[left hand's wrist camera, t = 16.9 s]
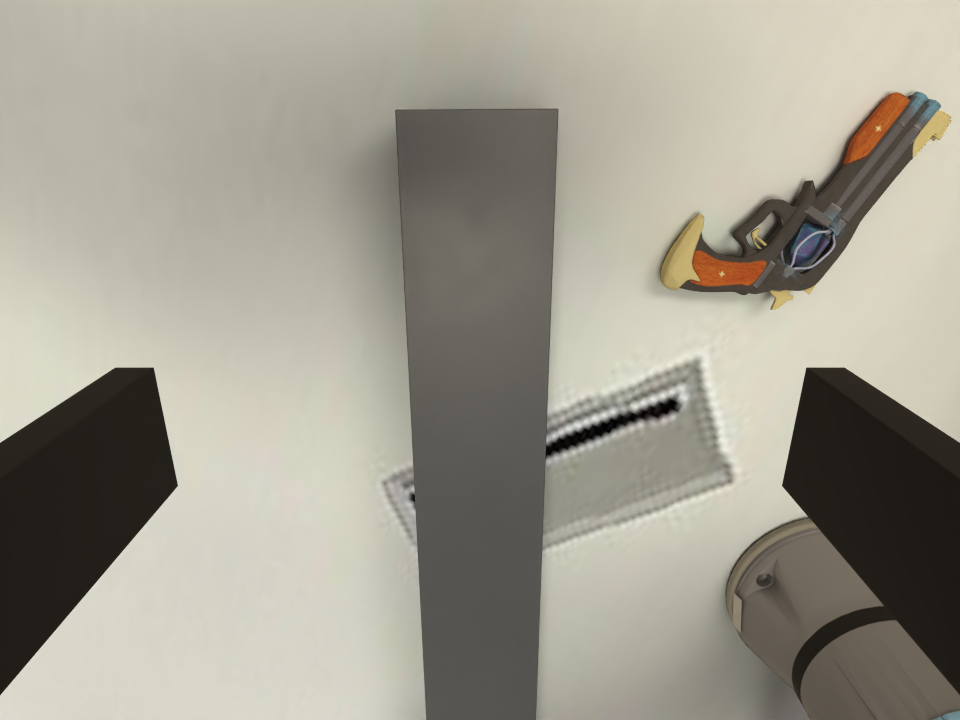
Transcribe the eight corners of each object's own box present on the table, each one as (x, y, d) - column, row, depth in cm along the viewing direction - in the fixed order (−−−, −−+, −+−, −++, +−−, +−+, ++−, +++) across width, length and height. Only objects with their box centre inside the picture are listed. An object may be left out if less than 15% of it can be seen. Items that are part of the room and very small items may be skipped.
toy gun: (655, 278, 42) (770, 357, 43) (844, 22, 38) (968, 115, 38) (647, 274, 44) (756, 349, 45) (822, 34, 40) (939, 121, 41)
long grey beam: (409, 113, 41) (395, 109, 34) (545, 112, 41) (558, 108, 34) (437, 768, 63) (432, 844, 56) (525, 767, 63) (531, 844, 56)
